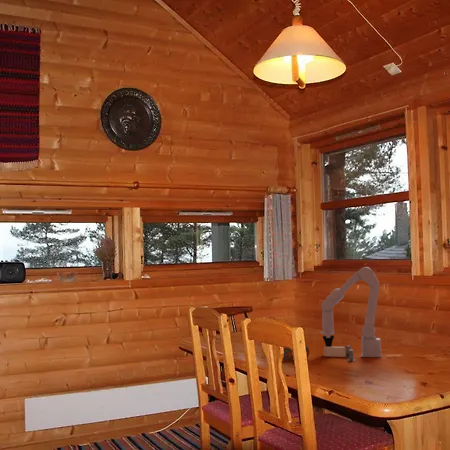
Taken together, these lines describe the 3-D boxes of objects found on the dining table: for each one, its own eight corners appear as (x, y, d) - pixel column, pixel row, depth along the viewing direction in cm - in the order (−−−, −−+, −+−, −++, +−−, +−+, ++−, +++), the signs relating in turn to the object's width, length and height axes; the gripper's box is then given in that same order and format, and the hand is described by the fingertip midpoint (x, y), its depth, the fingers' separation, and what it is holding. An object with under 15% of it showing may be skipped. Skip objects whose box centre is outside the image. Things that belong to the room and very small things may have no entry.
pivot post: (353, 356, 308) (352, 345, 309) (352, 357, 304) (352, 346, 304) (344, 356, 310) (343, 345, 310) (343, 357, 305) (343, 346, 306)
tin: (278, 360, 304) (278, 342, 304) (281, 358, 307) (280, 341, 307) (308, 361, 297) (307, 344, 297) (310, 360, 300) (309, 343, 300)
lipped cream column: (344, 355, 308) (344, 346, 309) (344, 356, 306) (344, 346, 307) (324, 355, 311) (324, 345, 311) (324, 356, 309) (323, 346, 309)
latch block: (355, 359, 299) (354, 349, 300) (354, 361, 294) (354, 350, 295) (348, 359, 300) (348, 349, 300) (347, 361, 295) (347, 350, 295)
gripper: (320, 321, 322) (321, 347, 322) (319, 325, 308) (320, 352, 308) (334, 321, 321) (335, 347, 321) (334, 324, 307) (334, 352, 306)
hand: (328, 350), depth 314 cm, fingers closed
